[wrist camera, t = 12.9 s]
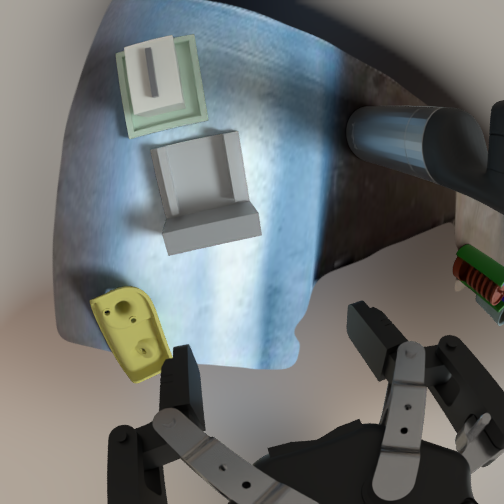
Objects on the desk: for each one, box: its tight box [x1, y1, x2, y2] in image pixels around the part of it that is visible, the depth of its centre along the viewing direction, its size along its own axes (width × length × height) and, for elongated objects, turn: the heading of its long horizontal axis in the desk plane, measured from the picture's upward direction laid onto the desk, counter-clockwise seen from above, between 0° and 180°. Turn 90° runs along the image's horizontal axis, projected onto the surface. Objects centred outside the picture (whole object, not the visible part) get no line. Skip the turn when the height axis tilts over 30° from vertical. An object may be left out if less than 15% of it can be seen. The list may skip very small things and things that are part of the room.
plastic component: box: [90, 286, 173, 383], centre depth 44 cm, size 20×7×10 cm
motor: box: [453, 244, 504, 312], centre depth 48 cm, size 10×9×20 cm
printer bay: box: [150, 131, 262, 256], centre depth 36 cm, size 12×13×7 cm
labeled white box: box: [124, 35, 186, 118], centre depth 27 cm, size 5×8×10 cm, turn 9°
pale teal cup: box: [476, 294, 504, 326], centre depth 60 cm, size 10×10×12 cm
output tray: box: [116, 34, 208, 139], centre depth 32 cm, size 11×13×2 cm
